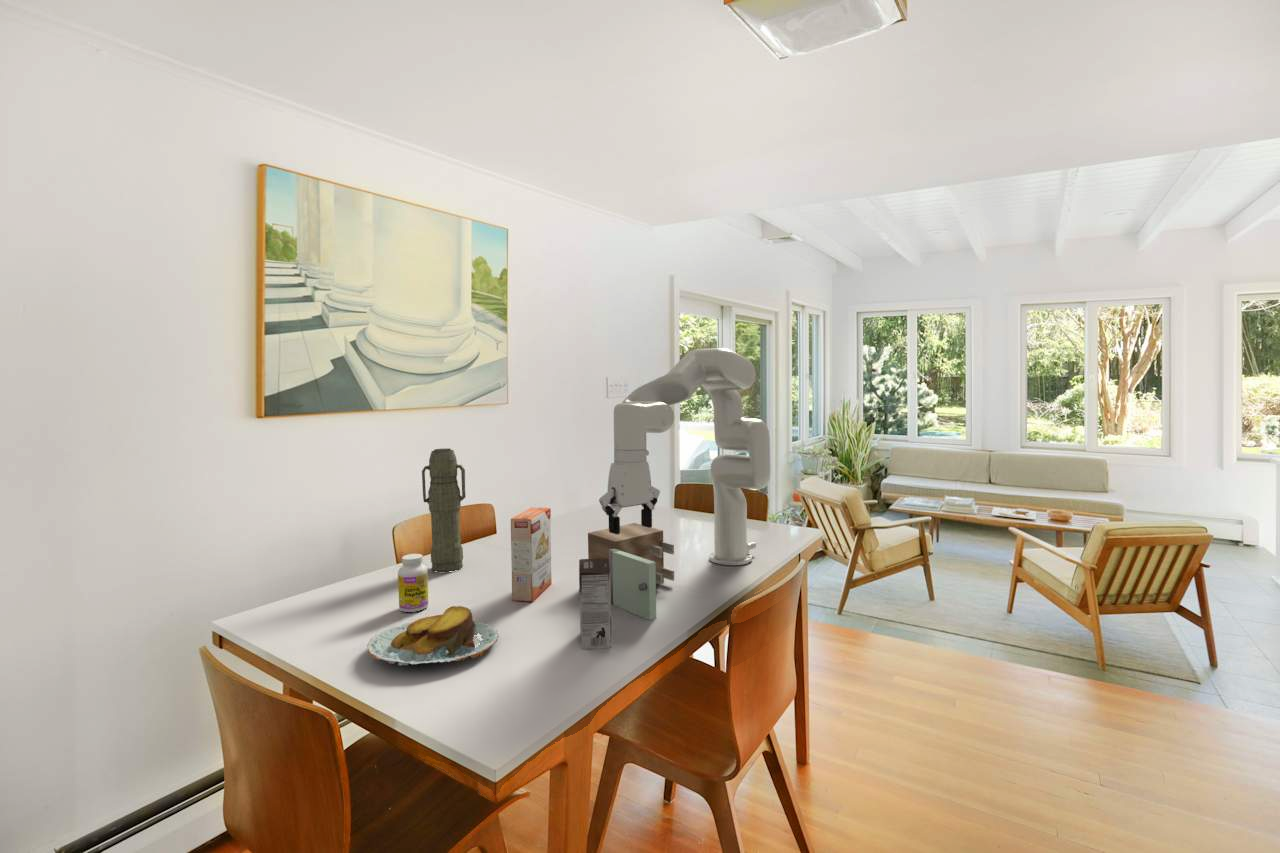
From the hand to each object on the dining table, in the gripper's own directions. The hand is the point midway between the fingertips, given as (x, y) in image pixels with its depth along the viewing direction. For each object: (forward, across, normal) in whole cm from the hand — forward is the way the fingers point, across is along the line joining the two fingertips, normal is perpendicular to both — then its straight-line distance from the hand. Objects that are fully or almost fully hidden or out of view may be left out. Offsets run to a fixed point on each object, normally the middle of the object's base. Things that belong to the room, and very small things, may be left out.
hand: (630, 529), depth 142 cm
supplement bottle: (+20, +37, -37) cm, 56 cm away
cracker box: (+20, +10, -27) cm, 35 cm away
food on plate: (+20, +42, -12) cm, 49 cm away
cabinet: (+19, -12, -14) cm, 27 cm away
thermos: (+20, +18, -62) cm, 68 cm away
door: (+19, -1, 0) cm, 19 cm away
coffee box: (+20, +15, +7) cm, 26 cm away
